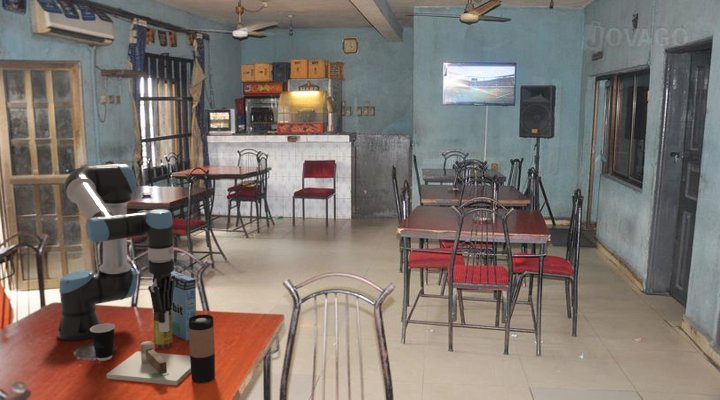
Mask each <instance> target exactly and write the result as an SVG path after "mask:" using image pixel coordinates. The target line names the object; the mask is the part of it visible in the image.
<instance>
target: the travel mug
mask: <svg viewBox="0 0 720 400" xmlns="http://www.w3.org/2000/svg"><path fill="white" fill-rule="evenodd" d="M214 326H215V325H214V316H212V315H210V314H198V315H197V314H196V316H193V317H191V318H189V340H188V343H189V356H190V363H191V372H190V374H191V381H192V382H193V383H195V384H206V383H210V382H212V381H213V380H215V377H216V369H215V368H216V360H215V359H216V351H215V349H216V347H215V327H214Z"/></svg>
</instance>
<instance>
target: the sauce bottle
mask: <svg viewBox="0 0 720 400" xmlns="http://www.w3.org/2000/svg"><path fill="white" fill-rule="evenodd" d="M168 311H169V331H168V332H159V315H158V313H154V312H153V340H154V341H153V344H154V347H155V349H158V350H163V349H165V350H166V349H168V348H171V347H172V345H173V341H174V340H173V334H172V314H171V311H170V310H168Z"/></svg>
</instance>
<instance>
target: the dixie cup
mask: <svg viewBox="0 0 720 400" xmlns="http://www.w3.org/2000/svg"><path fill="white" fill-rule="evenodd" d="M115 328H116V325H115V324H114V323H109V322H105V323H101V324H98V325H95V326H93V327H91V328H90V331H91V334H92V337H91V338H92V343H93V348H94V354H95V357H96V359H97V361H101V362H105V361H108V360H111V359H112V358H113V355H114V343H115V341H114V340H115Z"/></svg>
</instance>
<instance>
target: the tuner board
mask: <svg viewBox="0 0 720 400" xmlns="http://www.w3.org/2000/svg"><path fill="white" fill-rule="evenodd" d="M157 353H158V354H159V355H160V356H161V357H162V358H163V359H164V360H165V361H166V366H167V373H164V374H160V373H159V372H158V371H157V370H156V369H155V368H154V367H153V366H152V365H151V364H150V363H142V362H141V350H140V351H136V352H134V353H133V354H132V355H130V356H129V357H128V358H126V359H125V360H124V361H122V362H120V363H119V364H118V365H116V366H115V367H114V368H113V369H112V370H110V371H109V372H107V373H106V379H108V380H116V381H128V382H138V383H139V382H140V383H150V384H157V385H158V384H159V385H168V386H169V385H171V386H178V385H179V384H180V383H181V382H182V381H183V380H184V379H185V378H186V377H187V376H189V374H191V363H190V355H185V354H175V353H174V354H173V353H164V352H163V353H162V352H161V353H160V352H157Z"/></svg>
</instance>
